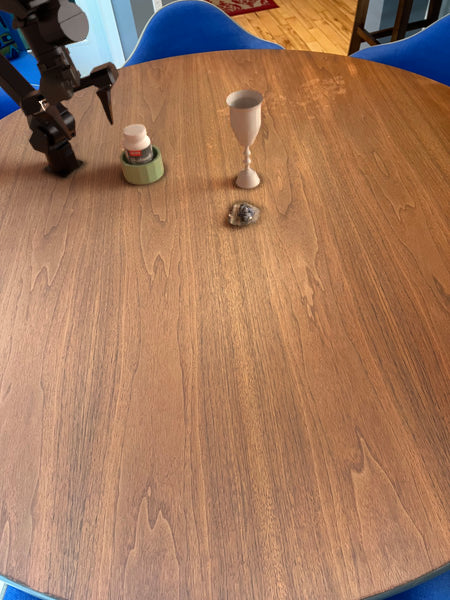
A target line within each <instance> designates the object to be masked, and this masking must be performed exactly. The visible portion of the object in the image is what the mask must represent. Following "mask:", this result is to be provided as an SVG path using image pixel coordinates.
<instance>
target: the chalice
mask: <svg viewBox="0 0 450 600" xmlns="http://www.w3.org/2000/svg"><path fill="white" fill-rule="evenodd" d="M225 101H226V104H227V106H228V107H229V123H230V128H231V130H232V132H233V133H232V134H233V135H234V137H235V139H236V140H237V142H238V143H239V145H240V146H242V147H243V148H244V149H243V152H242V155H243V157H244V159H243V160H242V163H243V164H244V168H242V169H241V170H240V171H239V172H238V176H237V178H236V180H235V184H236V186H238V188H242V189H245V190H246V189H247V190H248V189H253V188H255V187H257V186H259V184H260V183H261V182H260V181H261V179H260V178H259V175H258V174H257V172H256V170H255V169H253V168H251V167H250V164H251V163H252V160H251V158H250V156H251V151H250V146H252V145H253V144H254V142H255V140H256V139H257V136H258V133H259V131H260V128H261V125H262V111H261V110H262V109H261V108H262V107H261V105H262V103H263V101H264V96H263V94H262V92H260V91H258V90H255V89H240V90H236V91H234V92H231V93H230V94H228V95H227V97H226V100H225Z"/></svg>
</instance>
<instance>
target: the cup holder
mask: <svg viewBox="0 0 450 600" xmlns="http://www.w3.org/2000/svg"><path fill="white" fill-rule="evenodd" d="M151 147H152V152H153V157H154V160H153V161H152V162H149V163H147V164H144V165H129V164H128V162H127V158H126V154H125V150H123V151H122V152H121V153H120V155H119V163H120V166H121V170H122V174H123V177H124V179H125V180H126V181H127V182H128V183H130V184H133V185H136V186H137V185H138V186H140V185H141V186H142V185H148V184H152V183H154V182H156V181H159V179H161V177H162V176H163V175H164V172H165V167H164V163H163V158H162V153H161V149H160V148H159V147H158V146H157V145H154V144H151Z"/></svg>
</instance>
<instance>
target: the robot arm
mask: <svg viewBox="0 0 450 600" xmlns="http://www.w3.org/2000/svg"><path fill="white" fill-rule="evenodd" d="M0 11H1V12H5V13H7V14H11V15H13V18H12V22H11V28H12V29H13V30H14V31H16V30H18V29H19V30H20V32H21V34H22V36H23V38H24V40H25V42H26V43H27V45H28V47H29V49H30V51H31V52H32V55H33V56H34V58H35V60H36V62H37V63H35V64H36V67H37V70H38V72H39V74H40V75H39V76H40V78H39V86H38V89H36V88H35V87H34V86H33V85H32V83H30V81H28V80H27V78H26V77H25V76H24V75H22V73H21V72H20V71H19V70H18V69H17V68H16V67H15V66H14V65H13V63H11V62H10V61H9V59H7V57H6V56H5V55H4V54H3V53H2V52H1V51H0V88H1V90H3V91H4V92H5V94H6V95H8V97H9V98H10V99H11V100H13V102H14V103H15V104H16V105H17V106H18V107H19V108H20V110H21V111H22V113H23V115H24V117H26V121H27V125H28V128H29V130H30V131H31V132H32V133H31V135H30V137H29V139H28V142H29V144H30V146H31V147H32V149H33V150H34V151H36V152H39V153H42V154H44V156H45V159H46V161H47V163H48V165H46V166H45V167H44V171H45V172H48V173H49V174H52V175H55V176H57V177H60V178H66V177H68V176H69V175H71V174H72V173H73V172H74V171H76V170H77V169H79V168H80V167H81V166H83V165H84V162H83V161H84V160H80V159H78V158H77V156H76V154H75V150H74V149H73V146H72V143H71V142H70V141H72V140H73V138H75V137H77V132H76V129H77V128H76V119H75V117H74V115H73V114H72V112H70V111H69V108H68V107H66V106H65V105H64V104H63V103H62V102H64V101H66V102H67V101H70V100H71V99H73V97H74V93H77V92H79V91H82V90H84V89H88V88H90V87H95V88H97V90H96V92H95V94H96V96H97V97H98V99H99V101H100V103H101V105H102V109H103V110H104V114H105V116H106V119H107V120H108V123H109V124H110V126H114V114H113V106H112V105H113V104H112V89H113V87H114V86H115V83H116V82H117V81H118V78H119V76H120V72H119V71H118V69H117V66H116V65H115V63H113V62H112V61H107V62H105V63H102V64H100V65H97V66H95V67H92V69H91V71H90V72H89V74H87V75H86V76H82V74H81V72H80V70H79V69H78V68H77V67H76V65H75V63H74V61H73V59H72V57H71V55H70V54H71V51H70V50H69V48H68V47H66V46H68V45H73V44H77V43H80V42H83V41H85V40H86V39H87V37H88V35H89V32H90V24H89V23H90V22H89V19H88V16H87V14H86V12H85V11H83V9H82V8H81V7H80V6H79V5H78V4H76V3H75V2H72V1H69V0H0ZM81 76H82V77H81Z"/></svg>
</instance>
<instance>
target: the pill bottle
mask: <svg viewBox="0 0 450 600" xmlns="http://www.w3.org/2000/svg"><path fill="white" fill-rule="evenodd" d="M122 134H123V138H124V140H123V141H122V144H123V149H124V150H125V154H126V158H127V162H128V164H129V165H144V164H147V163H149V162H152V161H153V160H154V157H153V152H152V147H151V145H152V142H151V138H150V137H149V136H148V135H147V129H146V127H145V125H144V124H141V123H132V124H128V125H127V126H125V127H123V129H122ZM124 150H123V151H124Z"/></svg>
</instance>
